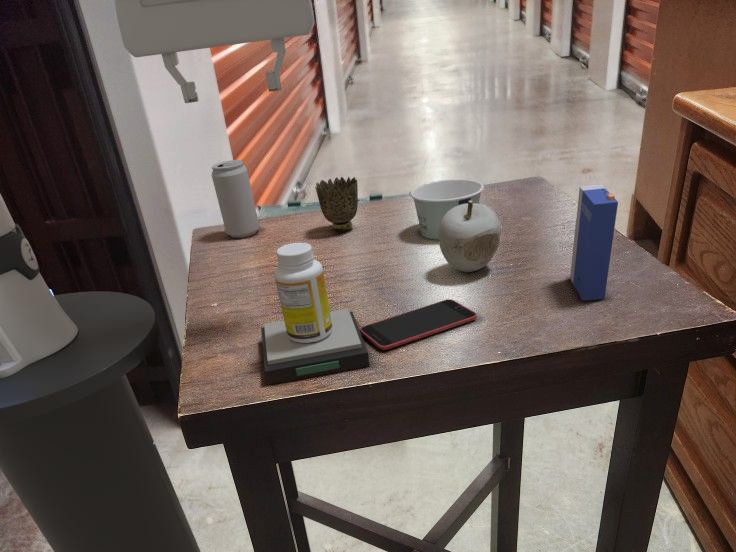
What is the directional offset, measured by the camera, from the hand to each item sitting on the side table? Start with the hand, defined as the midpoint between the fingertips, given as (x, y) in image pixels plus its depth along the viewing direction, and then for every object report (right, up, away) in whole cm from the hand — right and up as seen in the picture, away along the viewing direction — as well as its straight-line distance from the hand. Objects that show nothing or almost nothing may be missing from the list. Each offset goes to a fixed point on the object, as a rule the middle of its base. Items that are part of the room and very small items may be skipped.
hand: (233, 96), depth 69 cm
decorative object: (+30, -12, +21) cm, 38 cm away
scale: (+8, -27, +7) cm, 29 cm away
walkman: (+44, -18, +12) cm, 49 cm away
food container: (+29, 0, +36) cm, 46 cm away
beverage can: (-9, +5, +47) cm, 48 cm away
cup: (+10, +3, +42) cm, 44 cm away
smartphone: (+22, -24, +9) cm, 33 cm away
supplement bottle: (+8, -26, +5) cm, 27 cm away
